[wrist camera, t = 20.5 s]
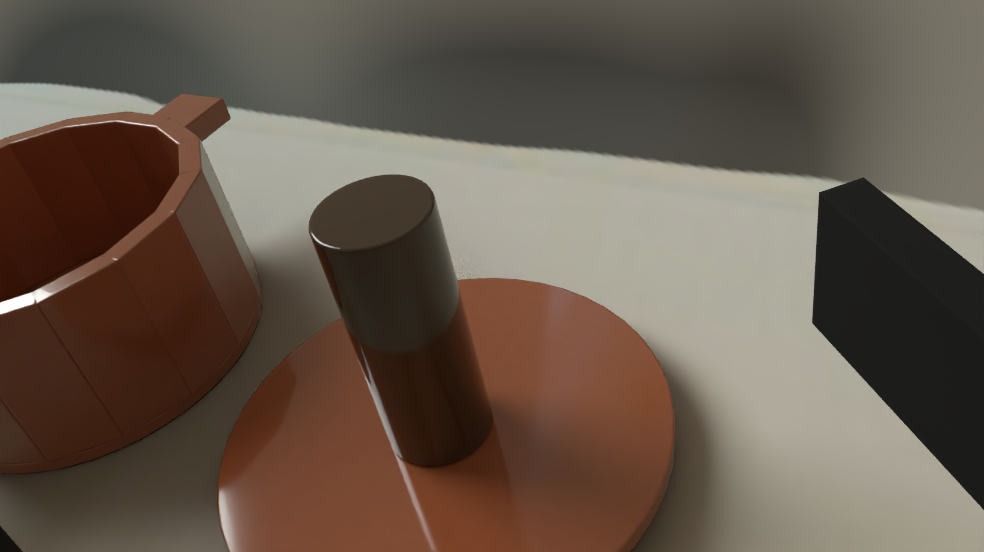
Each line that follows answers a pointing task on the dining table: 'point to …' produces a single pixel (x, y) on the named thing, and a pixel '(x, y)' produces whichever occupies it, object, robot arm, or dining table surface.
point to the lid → (445, 406)
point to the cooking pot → (115, 281)
